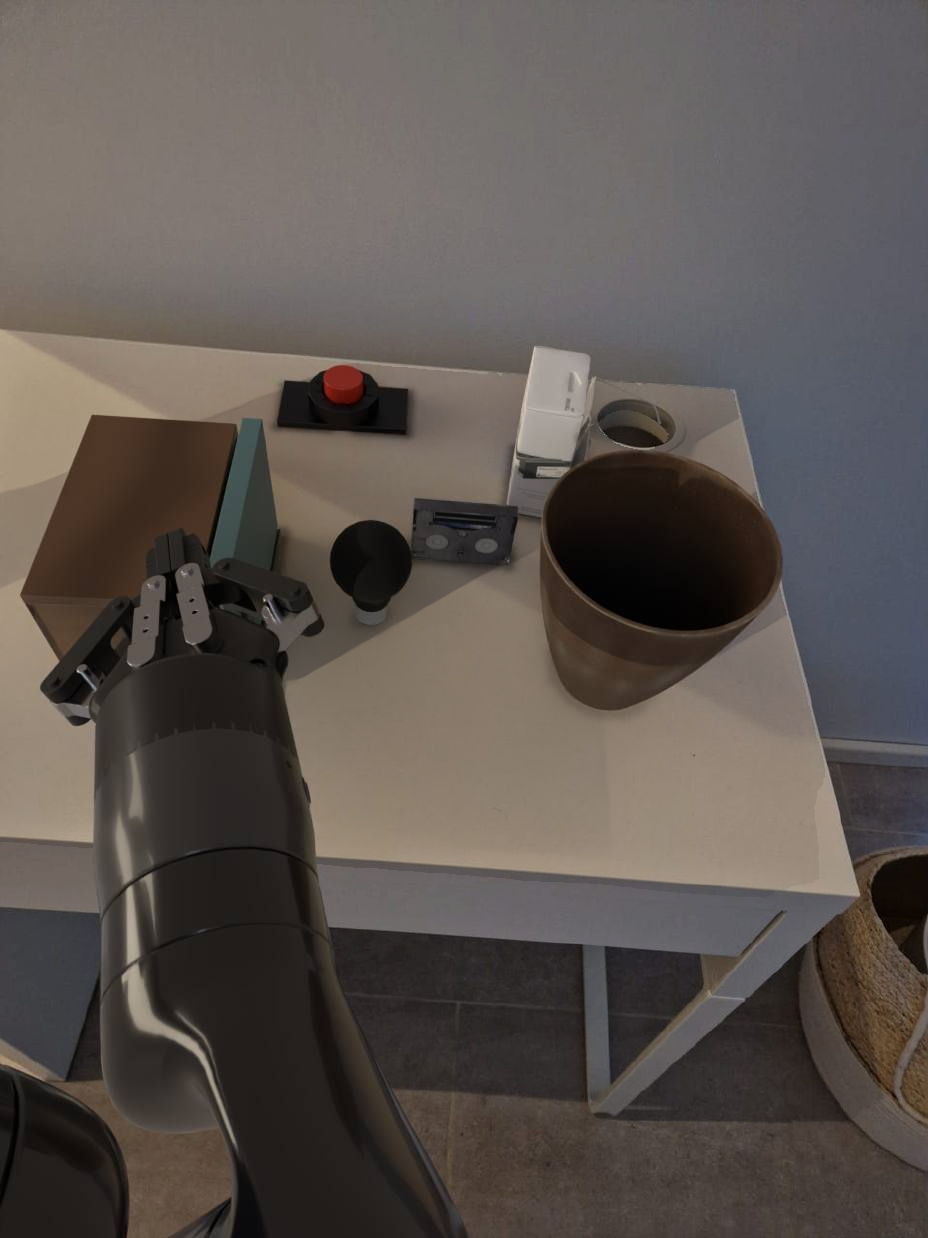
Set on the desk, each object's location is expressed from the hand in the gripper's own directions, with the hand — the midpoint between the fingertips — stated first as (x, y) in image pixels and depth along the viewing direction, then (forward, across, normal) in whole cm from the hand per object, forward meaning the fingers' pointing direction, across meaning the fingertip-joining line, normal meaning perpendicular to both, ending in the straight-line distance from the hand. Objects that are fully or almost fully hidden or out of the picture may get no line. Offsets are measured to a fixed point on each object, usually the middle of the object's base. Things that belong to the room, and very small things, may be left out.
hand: (176, 545), depth 42 cm
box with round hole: (+22, -35, +22) cm, 46 cm away
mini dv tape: (+14, -17, +19) cm, 29 cm away
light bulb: (+9, -8, +18) cm, 22 cm away
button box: (+33, -13, +13) cm, 38 cm away
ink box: (+20, -26, +20) cm, 39 cm away
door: (+12, 0, +15) cm, 19 cm away
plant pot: (0, -23, +24) cm, 33 cm away
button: (+33, -13, +11) cm, 37 cm away
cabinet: (+11, +6, +15) cm, 19 cm away
